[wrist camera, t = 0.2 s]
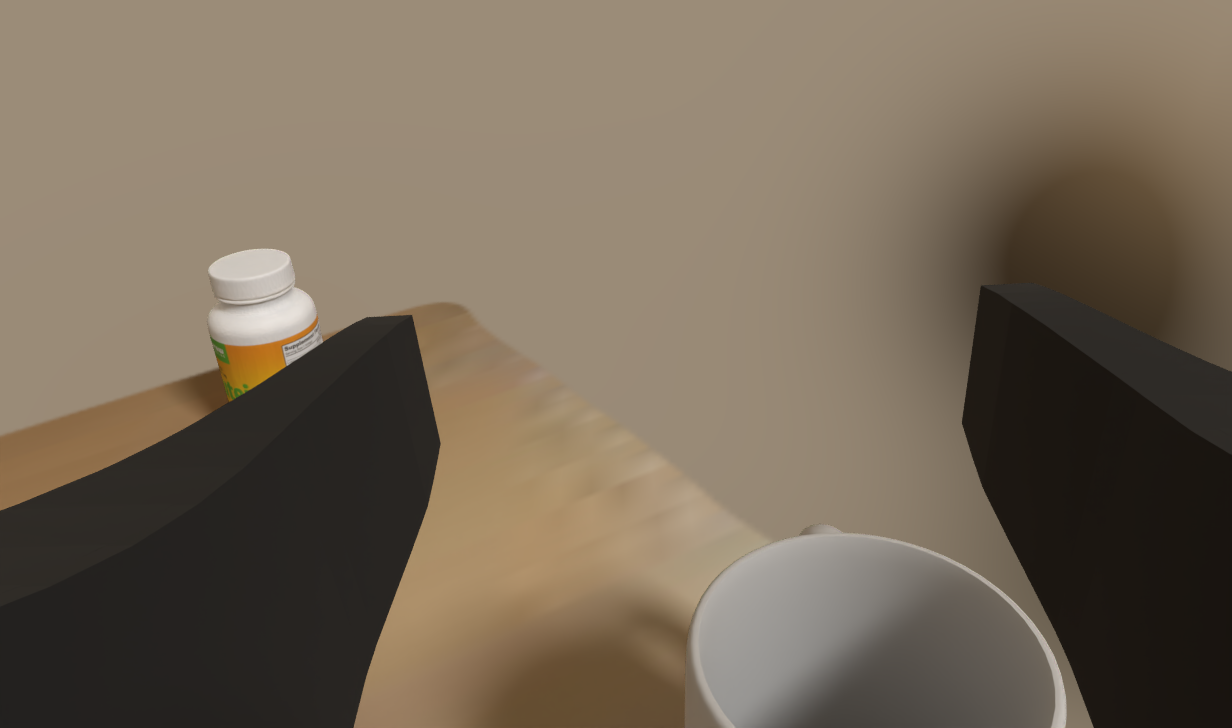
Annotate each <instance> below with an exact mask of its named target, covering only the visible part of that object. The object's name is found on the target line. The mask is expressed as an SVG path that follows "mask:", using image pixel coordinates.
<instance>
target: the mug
mask: <svg viewBox="0 0 1232 728" xmlns="http://www.w3.org/2000/svg"><path fill="white" fill-rule="evenodd" d="M1065 724H1066V696H1065V691H1064V686H1063V681H1062V677H1061V673H1060V670H1059V668H1058V665H1057V662H1056V660H1055V657H1054V655H1053V653H1052V652H1051V650H1050V648H1049V646H1048V644H1047V642H1046V641H1045V639H1044V637H1043V636H1042V634H1041V633H1040V632H1039V630H1038V629H1037V627H1036V626H1035V625H1034V623H1033V622H1032V621H1031V620H1030V618H1029V617H1028V616H1027V615H1026V614H1025V613H1024V612H1023V611H1022V610H1021V609H1020V608H1019V606H1018V605H1017V604H1016V603H1015V602H1013V601H1012V600H1011V599H1010V598H1009V597H1007V595H1006V594H1004V593H1003V592H1002V591H1001V590H1000V589H998V588H997V587H996V586H994V585H993V584H992V583H990V582H989V581H987V580H986V579H985V578H983V577H982V576H980V575H979V574H977V573H975V572H974V571H972V570H970V569H969V568H967V567H965V566H964V565H962V564H960V563H958V562H956V561H954V560H952V559H949V558H948V557H946V556H943V555H941V554H938V553H936V552H933V551H931V550H928V549H926V548H923V547H920V546H917V545H913V544H910V543H907V542H903V541H899V540H895V539H890V538H886V537H881V536H874V535H867V534H857V533H842V532H841V531H840V530H838V529H836V528H835V527H833V526H831V525H826V524H816V525H811V526H809V527H807V528H805V529H804V530H803V531H802V532H801V533H800V535H799V536H796V537H792V538H787V539H783V540H780V541H777V542H773V543H770V544H767V545H765V546H763V547H760V548H758V549H756V550H754V551H751V552H749V553H748V554H746V555H744V556H743V557H741V558H739V559H738V560H736V561H734V562H733V563H732V564H731V565H729V566H728V567H727V568H726V569H724V570H723V571H722V572H721V573H720V574H719V575H718V576H717V577H716V578H715V579H714V580H713V582H712V583H711V584H710V585H709V587H708V588H707V590H706V591H705V592H704V594H703V595H702V597H701V599H700V601H699V603H698V605H697V607H696V609H695V612H694V614H693V616H692V620H691V624H690V628H689V632H688V638H687V650H686V664H685V728H1065Z"/></svg>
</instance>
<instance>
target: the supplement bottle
mask: <svg viewBox="0 0 1232 728" xmlns="http://www.w3.org/2000/svg"><path fill="white" fill-rule="evenodd" d="M208 275H209V279H210V283H211V287H212V291H213V293H214V296H215V298H216V299H217V300H219V302H218V303H217V304H216V305H215V306H214V307H213V308H212V309H211V311H210V313H209V315H208V320H207V325H208V329H209V334H210V337H211V341H212V344H213V348H214V351H215V355H216V358H217V361H218V365H219V369H220V372H221V376H222V379H223V383H224V387H225V390H226V394H227V398H228V401H229V402H230V401H232V400H234V399H235V398H237V397H239V396H240V395H242V394H244V393H245V392H247V391H249V390H250V389H252V388H254V387H255V386H257V385H258V384H260V383H262V382H263V381H265V380H266V379H268V378H269V377H271V376H272V375H274V374H275V373H277V372H278V371H280V370H281V369H283V368H285V367H286V366H288V365H289V364H291V363H292V362H294V361H295V360H297V359H298V358H300V357H301V356H303V355H304V354H306V353H307V352H309V351H310V350H312V349H314V348H315V347H317V346H318V345H320V344H321V343H323V340H322V335H321V331H320V326H319V321H318V316H317V312H316V309H315V305H314V302H313V300H312V299H311V298H310V296H309V295H308V294H306V293H305V292H304V291H302V290H300V289H298V288H295V287H293V286H294V284H295V274H294V271H293V267H292V263H291V259H290V257H289V255H288V254H287V253H285V252H283V251H280V250H275V249H253V250H246V251H241V252H238V253H233V254H230V255H227V256H225V257H222V258H220V259H218V260H217V261H215V262H214V263H213V264H212V265H211V266H210V267H209V269H208Z"/></svg>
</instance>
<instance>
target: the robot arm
mask: <svg viewBox="0 0 1232 728" xmlns="http://www.w3.org/2000/svg"><path fill="white" fill-rule="evenodd" d="M962 425H963V428H964V431H965V435H966V438H967V441H968V444H969V447H970V451H971V454H972V457H973V461H974V464H975V466H976V469H977V472H978V475H979V478H980V481H981V484H982V487H983V489H984V491H985V493H986V495H987V497H988V499H989V502H990V503H991V506H992V507H993V510H994V512H995V514H996V515H997V518H998V519H999V521H1000V524H1001V526H1002V527H1003V529H1004V532H1005V533H1006V536H1007V538H1008V540H1009V542H1010V544H1011V546H1012V547H1013V549H1014V551H1015V553H1016V555H1017V557H1018V559H1019V561H1020V563H1021V565H1022V567H1023V569H1024V571H1025V573H1026V575H1027V577H1028V579H1029V581H1030V582H1031V585H1032V587H1033V588H1034V591H1035V592H1036V594H1037V596H1038V598H1039V600H1040V602H1041V604H1042V606H1043V608H1044V610H1045V612H1046V614H1047V616H1048V618H1049V620H1050V622H1051V624H1052V626H1053V628H1054V630H1055V631H1056V634H1057V636H1058V638H1059V641H1060V643H1061V645H1062V647H1063V649H1064V652H1065V654H1066V656H1067V658H1068V661H1069V663H1070V665H1071V668H1072V670H1073V673H1074V675H1075V678H1076V681H1077V684H1078V686H1079V689H1080V692H1081V694H1082V697H1083V700H1084V702H1085V705H1086V708H1087V711H1088V713H1089V716H1090V719H1091V721H1092V724H1093V727H1094V728H1232V372H1231V371H1228V370H1226V369H1223V368H1221V367H1219V366H1216V365H1214V364H1211V363H1209V362H1207V361H1204V360H1202V359H1200V358H1197V357H1195V356H1193V355H1191V354H1189V353H1187V352H1184V351H1182V350H1180V349H1178V348H1175V347H1173V346H1171V345H1169V344H1167V343H1165V342H1162V341H1160V340H1158V339H1156V338H1154V337H1152V336H1150V335H1148V334H1145V333H1143V332H1141V331H1139V330H1137V329H1135V328H1133V327H1131V326H1129V325H1127V324H1125V323H1123V322H1121V321H1118V320H1116V319H1114V318H1112V317H1110V316H1108V315H1106V314H1104V313H1102V312H1100V311H1098V310H1096V309H1094V308H1091V307H1089V306H1087V305H1085V304H1083V303H1081V302H1078V301H1077V300H1074V299H1072V298H1070V297H1068V296H1066V295H1063V294H1061V293H1059V292H1056V291H1054V290H1051V289H1049V288H1046V287H1043V286H1040V285H1037V284H1034V283H1021V284H1003V285H984V286H981V290H980V296H979V304H978V311H977V318H976V325H975V332H974V339H973V347H972V355H971V361H970V369H969V376H968V383H967V390H966V397H965V404H964V411H963V418H962ZM440 444H441V443H440V439H439V434H438V430H437V425H436V421H435V416H434V412H433V407H432V403H431V398H430V394H429V389H428V385H427V380H426V376H425V371H424V367H423V362H422V358H421V353H420V349H419V344H418V340H417V335H416V331H415V326H414V322H413V317H412V315H403V316H384V317H367V318H364V319H362V320H360V321H358V322H356V323H354V324H352V325H350V326H349V327H347V328H345V329H343V330H342V331H340V332H338V333H337V334H335V335H334V336H332V337H330V338H329V339H327V340H326V341H324V342H323V343H321V344H320V345H318V346H317V347H315V348H314V349H312V350H310V351H309V352H307V353H306V354H304V355H303V356H301V357H300V358H298V359H297V360H295V361H294V362H292V363H291V364H289V365H288V366H286V367H285V368H283V369H281V370H280V371H278V372H277V373H275V374H274V375H272V376H271V377H269V378H268V379H266V380H265V381H263V382H262V383H260V384H258V385H257V386H255V387H254V388H252V389H250V390H249V391H247V392H245V393H244V394H242V395H240V396H239V397H237V398H235V399H234V400H232V401H230V402H229V403H227V404H225V405H224V406H222V407H220V408H219V409H217V410H215V411H214V412H212V413H210V414H209V415H207V416H205V417H204V418H202V419H200V420H199V421H197V422H195V423H194V424H192V425H190V426H188V427H186V428H185V429H183V430H181V431H179V432H177V433H175V434H174V435H172V436H170V437H168V438H166V439H164V440H162V441H160V442H158V443H156V444H154V445H152V446H150V447H148V448H146V449H144V450H142V451H140V452H138V453H136V454H134V455H132V456H130V457H128V458H126V459H124V460H122V461H120V462H117V463H115V464H113V465H111V466H109V467H107V468H104V469H102V470H100V471H98V472H95V473H93V474H90V475H88V476H86V477H83V478H81V479H78V480H76V481H73V482H71V483H69V484H66V485H64V486H61V487H59V488H56V489H54V490H51V491H49V492H47V493H44V494H42V495H39V496H37V497H34V498H32V499H30V500H27V501H25V502H22V503H20V504H17V505H15V506H12V507H9V508H7V509H4V510H1V511H0V728H353V727H354V723H355V719H356V715H357V711H358V707H359V703H360V699H361V695H362V691H363V687H364V683H365V679H366V676H367V673H368V669H369V666H370V663H371V660H372V657H373V654H374V651H375V648H376V645H377V642H378V639H379V637H380V634H381V631H382V629H383V626H384V623H385V621H386V618H387V615H388V613H389V610H390V607H391V605H392V602H393V599H394V597H395V594H396V591H397V589H398V586H399V583H400V581H401V578H402V575H403V573H404V570H405V567H406V565H407V562H408V559H409V557H410V554H411V551H412V549H413V546H414V543H415V540H416V538H417V535H418V532H419V529H420V527H421V524H422V521H423V518H424V515H425V512H426V510H427V507H428V503H429V498H430V494H431V489H432V485H433V480H434V475H435V470H436V465H437V460H438V454H439V449H440Z"/></svg>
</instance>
